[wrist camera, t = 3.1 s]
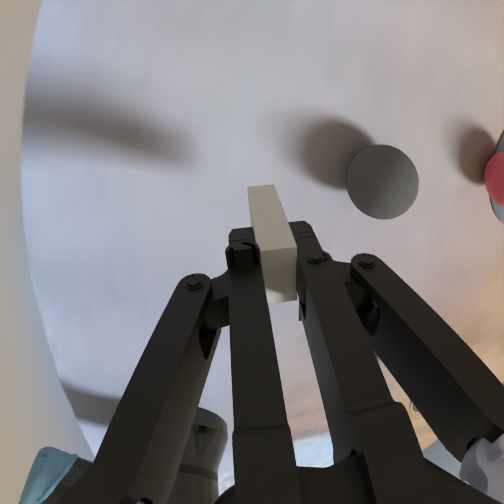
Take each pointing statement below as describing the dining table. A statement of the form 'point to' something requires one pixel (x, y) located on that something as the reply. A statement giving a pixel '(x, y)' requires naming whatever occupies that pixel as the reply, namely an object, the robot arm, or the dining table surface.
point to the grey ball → (382, 182)
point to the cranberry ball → (495, 178)
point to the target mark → (500, 211)
